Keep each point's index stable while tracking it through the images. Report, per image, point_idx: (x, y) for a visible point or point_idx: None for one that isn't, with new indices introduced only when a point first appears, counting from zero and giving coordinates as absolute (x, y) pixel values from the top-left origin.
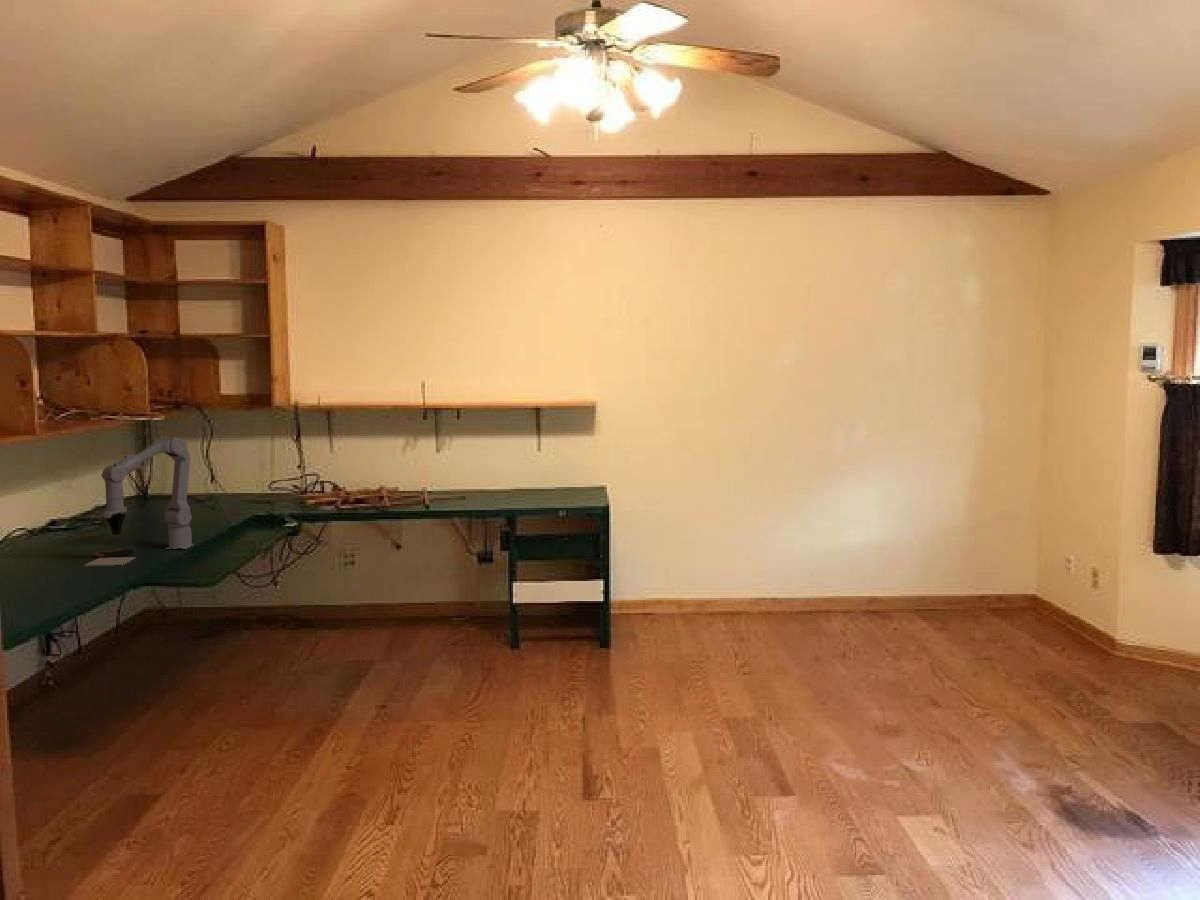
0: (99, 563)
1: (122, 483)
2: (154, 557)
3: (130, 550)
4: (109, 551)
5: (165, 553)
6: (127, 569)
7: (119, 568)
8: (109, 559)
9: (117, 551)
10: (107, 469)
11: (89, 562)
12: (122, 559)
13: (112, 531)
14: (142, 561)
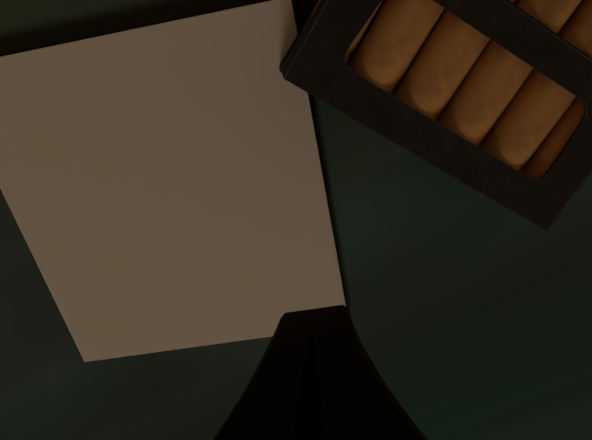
0: (39, 184)
1: None
2: (412, 406)
3: (522, 214)
4: (457, 15)
5: (569, 406)
6: (11, 437)
7: (14, 381)
8: (221, 163)
9: (409, 150)
10: None
11: (39, 51)
12: (244, 275)
13: (270, 352)
14: None
